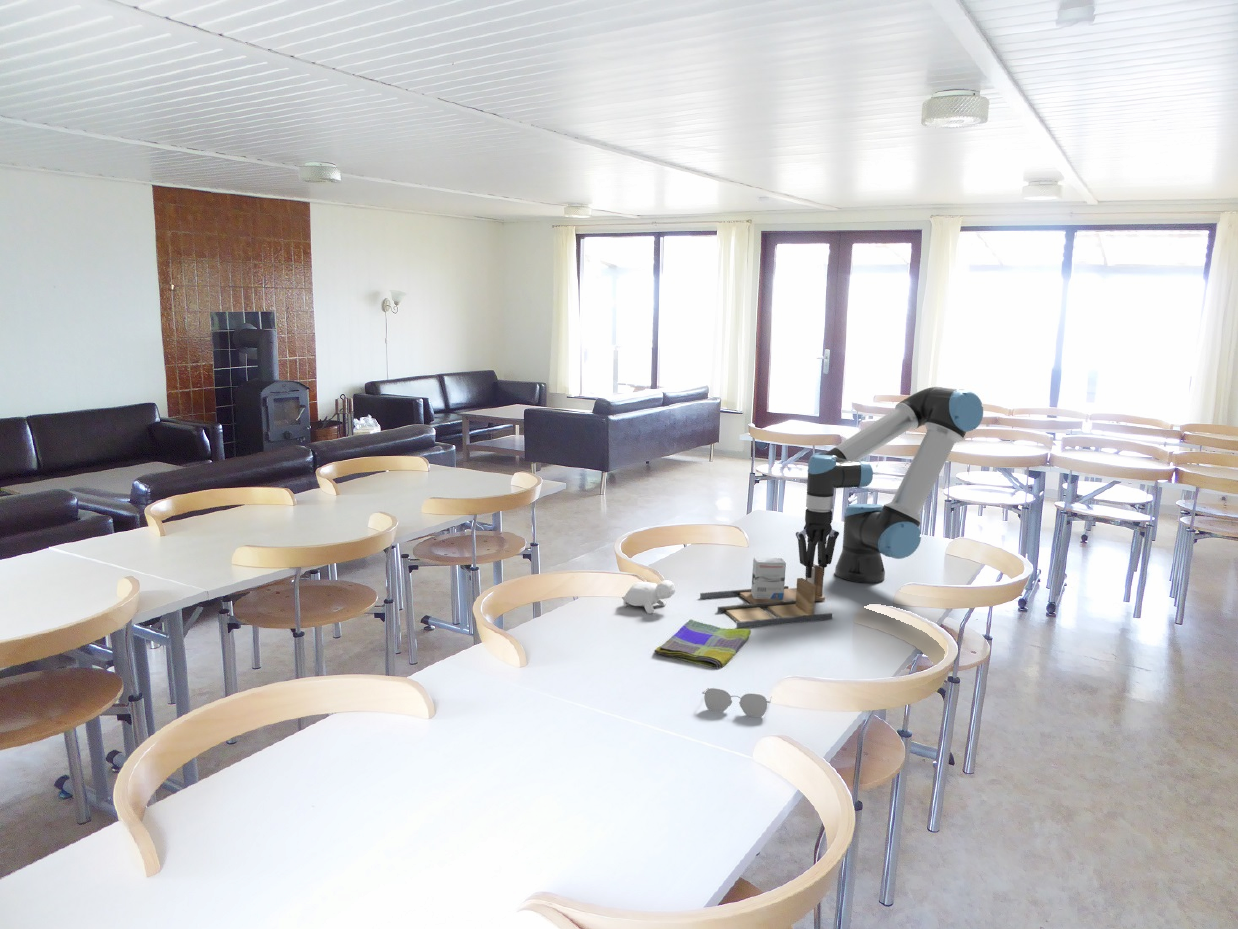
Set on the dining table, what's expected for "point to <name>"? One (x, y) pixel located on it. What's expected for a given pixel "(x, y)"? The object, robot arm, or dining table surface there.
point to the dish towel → (704, 644)
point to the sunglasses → (748, 702)
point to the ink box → (768, 578)
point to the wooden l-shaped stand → (782, 606)
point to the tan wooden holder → (793, 590)
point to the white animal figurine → (649, 594)
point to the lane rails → (763, 606)
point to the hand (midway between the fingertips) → (813, 587)
